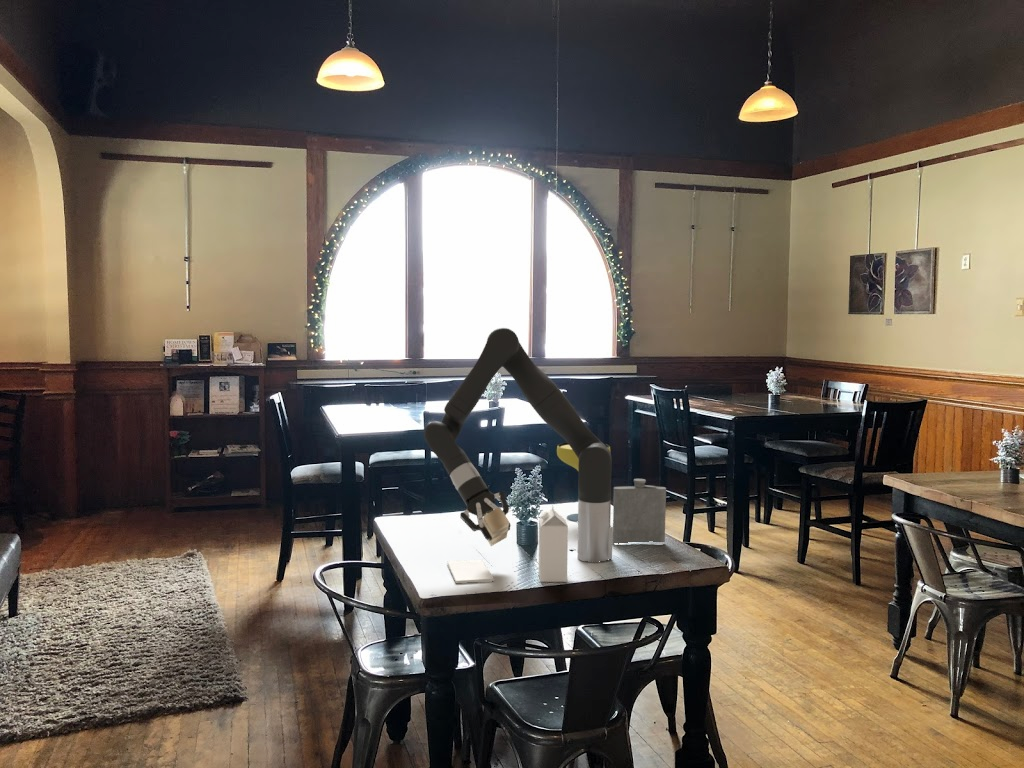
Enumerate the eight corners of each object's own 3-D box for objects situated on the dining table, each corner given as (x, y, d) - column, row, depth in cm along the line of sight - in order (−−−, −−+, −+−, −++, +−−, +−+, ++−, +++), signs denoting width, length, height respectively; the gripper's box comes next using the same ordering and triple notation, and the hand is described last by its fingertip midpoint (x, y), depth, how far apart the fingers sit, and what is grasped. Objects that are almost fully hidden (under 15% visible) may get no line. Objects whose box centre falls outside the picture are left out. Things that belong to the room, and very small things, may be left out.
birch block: (497, 522, 239) (499, 506, 226) (506, 537, 237) (509, 522, 225) (481, 531, 237) (483, 515, 225) (491, 546, 236) (493, 531, 223)
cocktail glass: (545, 516, 292) (546, 444, 290) (584, 509, 303) (585, 439, 301) (580, 527, 278) (581, 452, 276) (620, 519, 289) (621, 447, 286)
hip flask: (613, 545, 258) (614, 480, 256) (611, 542, 262) (612, 478, 260) (665, 545, 258) (667, 480, 256) (662, 542, 262) (664, 478, 261)
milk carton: (564, 573, 231) (565, 505, 229) (567, 582, 223) (568, 511, 222) (538, 574, 230) (539, 505, 228) (540, 582, 223) (541, 511, 221)
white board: (482, 562, 240) (482, 559, 240) (493, 581, 224) (493, 578, 224) (447, 564, 238) (447, 561, 238) (455, 583, 222) (455, 580, 221)
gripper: (446, 490, 231) (477, 543, 225) (491, 466, 235) (523, 517, 229) (446, 499, 237) (476, 551, 231) (490, 475, 241) (521, 525, 235)
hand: (500, 534), depth 230 cm, fingers closed on birch block, 5 cm apart
